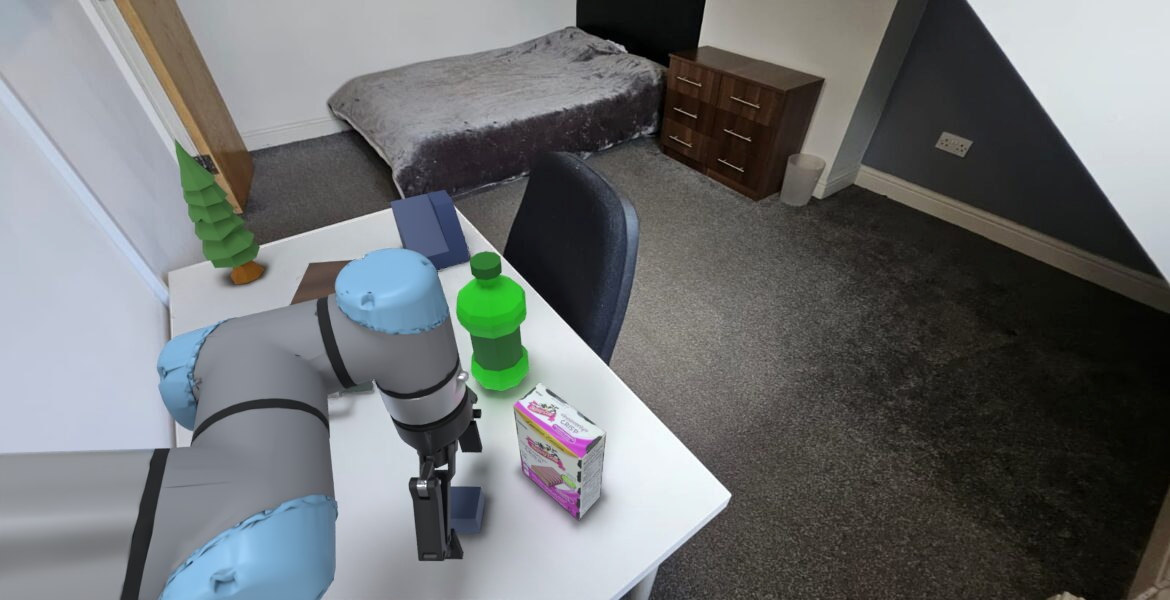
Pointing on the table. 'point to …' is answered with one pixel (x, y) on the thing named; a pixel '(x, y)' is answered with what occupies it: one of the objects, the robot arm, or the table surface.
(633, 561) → the table surface
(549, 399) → the candy bar box
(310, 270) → the cabinet
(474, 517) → the block
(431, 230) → the phone stand
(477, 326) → the plastic bottle
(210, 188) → the decorative tree
